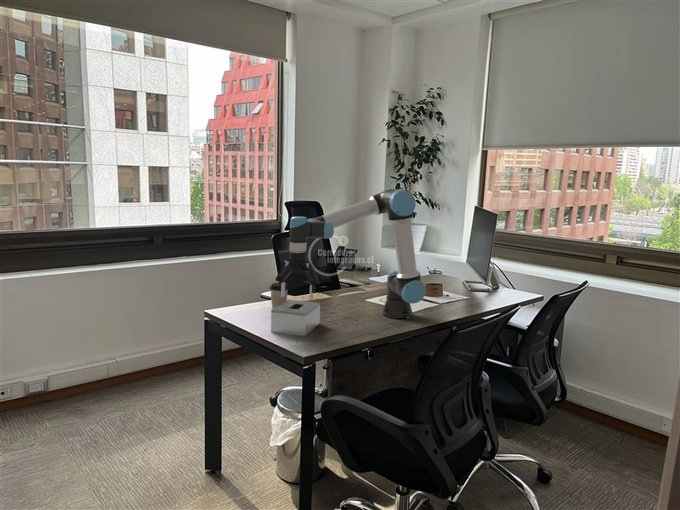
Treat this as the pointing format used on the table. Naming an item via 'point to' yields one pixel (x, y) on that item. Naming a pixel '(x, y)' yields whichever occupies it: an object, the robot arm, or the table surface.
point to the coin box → (295, 317)
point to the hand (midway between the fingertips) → (297, 298)
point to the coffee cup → (277, 295)
